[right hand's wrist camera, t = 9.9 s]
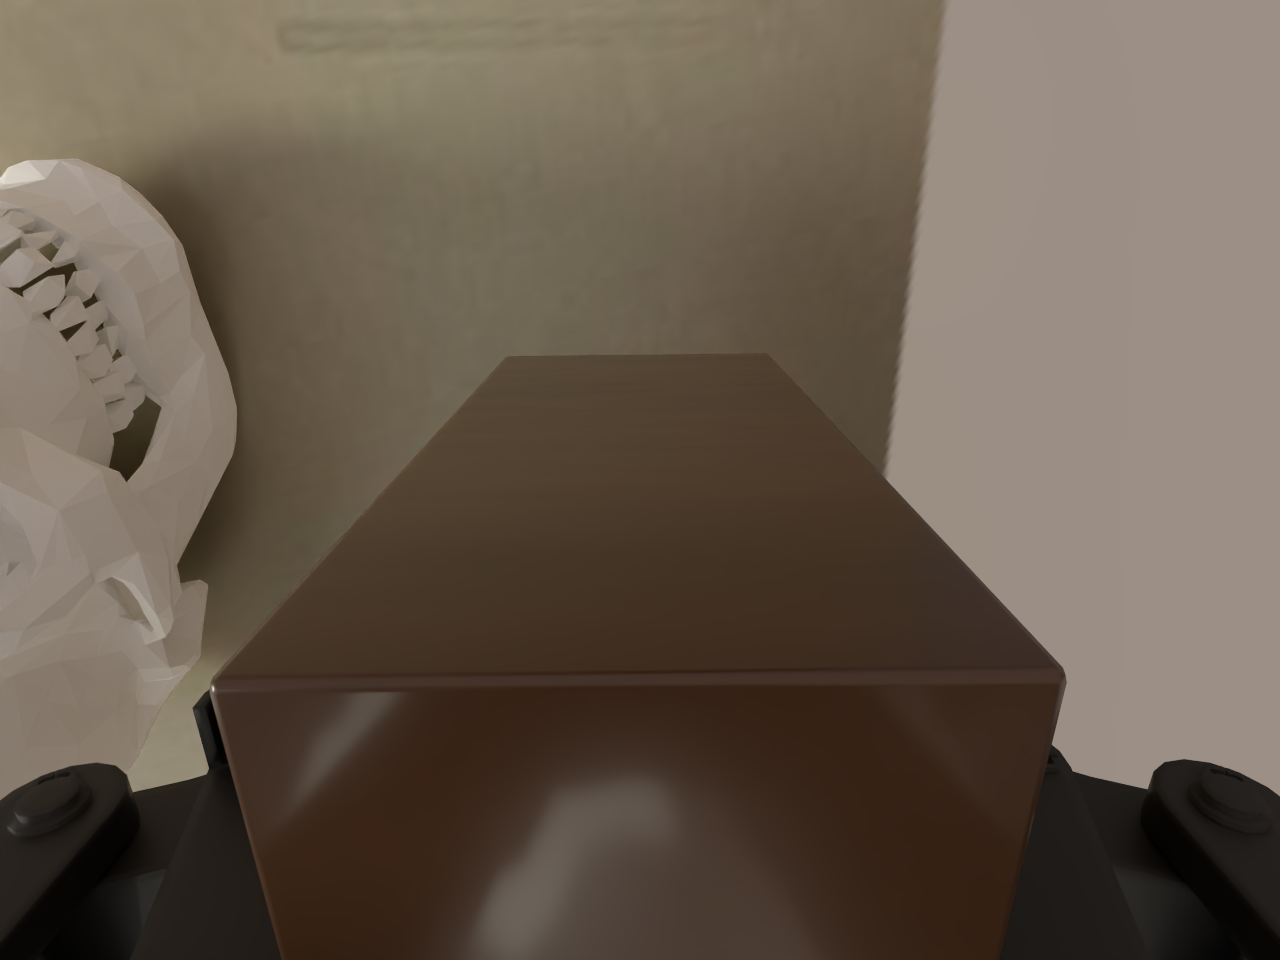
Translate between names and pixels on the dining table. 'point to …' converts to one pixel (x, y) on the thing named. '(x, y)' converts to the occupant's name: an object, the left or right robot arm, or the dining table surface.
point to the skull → (97, 468)
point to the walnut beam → (639, 693)
